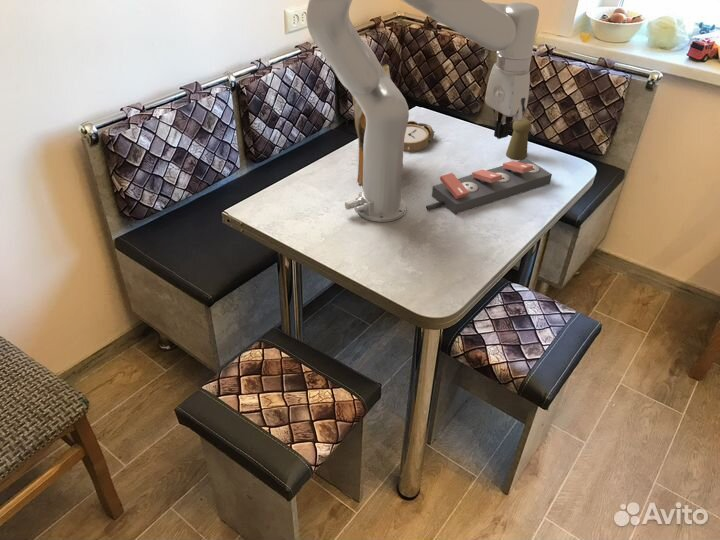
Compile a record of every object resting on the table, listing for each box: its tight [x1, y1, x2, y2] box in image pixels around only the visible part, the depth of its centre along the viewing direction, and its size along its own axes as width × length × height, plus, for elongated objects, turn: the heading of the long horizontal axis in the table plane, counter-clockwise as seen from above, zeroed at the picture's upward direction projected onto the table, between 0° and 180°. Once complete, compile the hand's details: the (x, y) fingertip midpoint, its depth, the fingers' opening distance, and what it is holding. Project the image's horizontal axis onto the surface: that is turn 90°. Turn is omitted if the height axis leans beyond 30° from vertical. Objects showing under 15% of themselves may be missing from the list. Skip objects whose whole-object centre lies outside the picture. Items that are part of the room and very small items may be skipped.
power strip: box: [425, 158, 553, 215], centre depth 162 cm, size 37×10×3 cm, turn 120°
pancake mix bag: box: [351, 63, 392, 185], centre depth 162 cm, size 7×19×28 cm, turn 143°
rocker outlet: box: [502, 160, 533, 173], centre depth 165 cm, size 4×8×2 cm, turn 30°
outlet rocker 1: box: [439, 172, 469, 199], centre depth 157 cm, size 4×8×2 cm, turn 30°
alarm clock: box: [403, 120, 436, 153], centre depth 185 cm, size 11×5×15 cm
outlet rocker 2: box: [471, 169, 502, 183], centre depth 161 cm, size 4×8×2 cm, turn 30°
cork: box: [505, 117, 532, 161], centre depth 177 cm, size 6×6×11 cm
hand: (500, 136), depth 151 cm, fingers closed
